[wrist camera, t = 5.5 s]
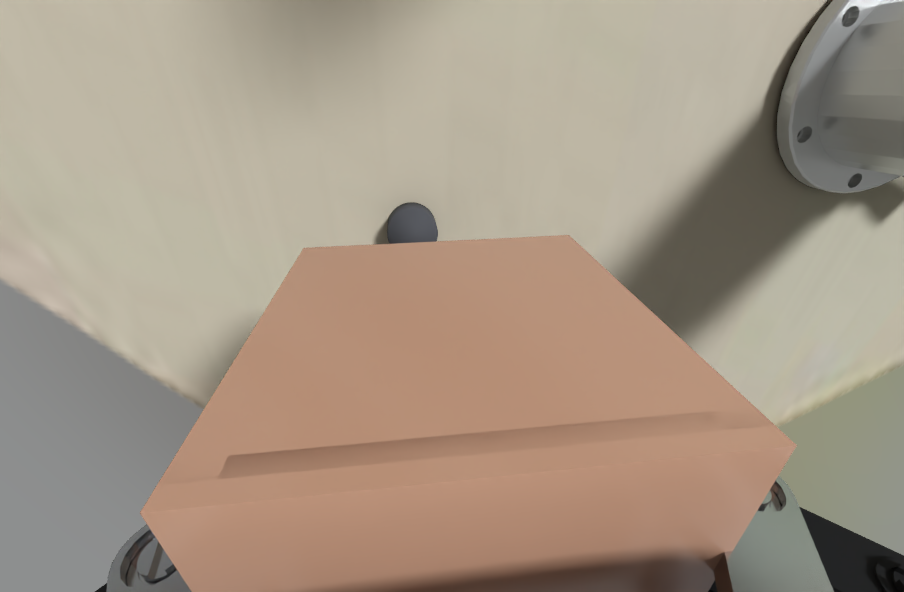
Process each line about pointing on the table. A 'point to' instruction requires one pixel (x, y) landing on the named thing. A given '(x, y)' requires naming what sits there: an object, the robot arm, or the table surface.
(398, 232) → the dark grey pebble
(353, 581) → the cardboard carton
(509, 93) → the table surface
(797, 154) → the robot arm
